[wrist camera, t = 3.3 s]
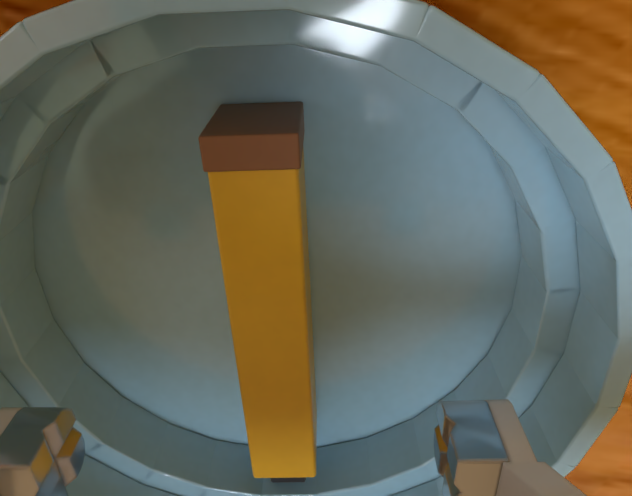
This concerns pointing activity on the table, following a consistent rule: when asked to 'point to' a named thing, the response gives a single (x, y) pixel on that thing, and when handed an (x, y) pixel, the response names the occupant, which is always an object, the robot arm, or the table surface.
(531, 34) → the table surface
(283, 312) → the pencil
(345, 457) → the blue bowl
